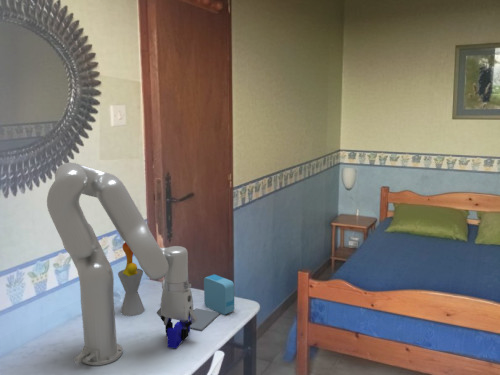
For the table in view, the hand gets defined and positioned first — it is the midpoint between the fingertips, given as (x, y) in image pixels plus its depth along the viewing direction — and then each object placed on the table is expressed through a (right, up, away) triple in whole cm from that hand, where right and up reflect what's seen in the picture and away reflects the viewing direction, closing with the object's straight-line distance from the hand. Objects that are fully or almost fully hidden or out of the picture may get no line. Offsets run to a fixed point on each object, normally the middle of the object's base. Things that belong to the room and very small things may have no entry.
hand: (177, 336), depth 166 cm
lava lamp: (-20, +3, +22) cm, 29 cm away
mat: (+6, +2, +14) cm, 15 cm away
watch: (-6, +5, +29) cm, 30 cm away
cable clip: (0, -1, 0) cm, 1 cm away
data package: (+13, +3, +22) cm, 26 cm away
